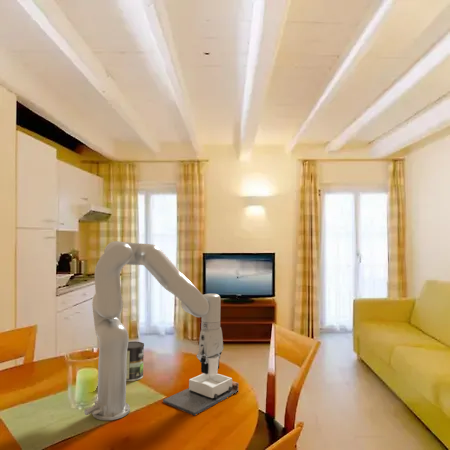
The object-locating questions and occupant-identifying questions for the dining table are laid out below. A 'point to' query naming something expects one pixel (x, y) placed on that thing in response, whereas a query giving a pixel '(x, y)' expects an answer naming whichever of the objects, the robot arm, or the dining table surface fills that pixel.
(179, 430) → the dining table surface
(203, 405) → the dark grey base plate
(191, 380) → the white tray on base
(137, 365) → the coffee can
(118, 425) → the dining table surface
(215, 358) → the white tapered cylinder
